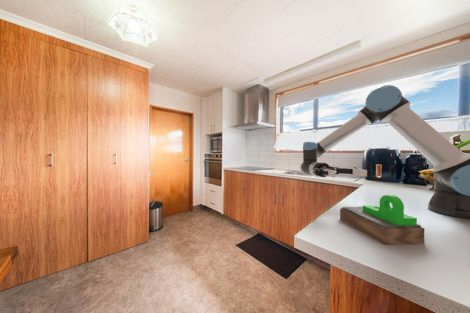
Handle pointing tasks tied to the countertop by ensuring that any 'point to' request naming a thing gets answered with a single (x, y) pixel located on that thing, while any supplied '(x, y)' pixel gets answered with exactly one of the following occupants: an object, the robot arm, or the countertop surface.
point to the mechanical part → (391, 211)
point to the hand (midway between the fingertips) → (350, 173)
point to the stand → (381, 227)
